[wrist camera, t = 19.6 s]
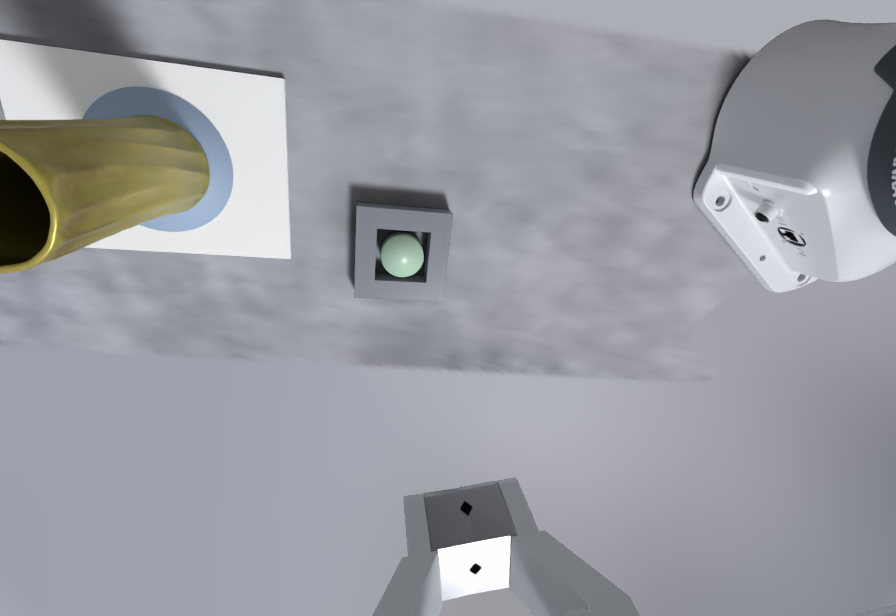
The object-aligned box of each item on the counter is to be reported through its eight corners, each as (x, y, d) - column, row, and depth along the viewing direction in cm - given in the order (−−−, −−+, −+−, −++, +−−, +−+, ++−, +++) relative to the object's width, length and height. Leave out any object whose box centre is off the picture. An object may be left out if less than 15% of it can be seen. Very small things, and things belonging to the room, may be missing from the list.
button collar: (449, 209, 32) (453, 214, 30) (440, 293, 35) (443, 301, 33) (357, 202, 30) (356, 206, 29) (354, 290, 33) (354, 297, 32)
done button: (423, 233, 32) (425, 237, 31) (420, 272, 33) (421, 278, 32) (381, 230, 31) (382, 234, 30) (379, 270, 33) (380, 276, 31)
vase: (197, 227, 29) (57, 309, 16) (96, 188, 27) (-155, 245, 14) (222, 144, 27) (87, 160, 14) (117, 95, 25) (-150, 64, 12)
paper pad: (285, 79, 27) (283, 78, 26) (291, 257, 31) (290, 259, 31) (-11, 38, 23) (-19, 36, 23) (45, 243, 28) (39, 245, 28)
